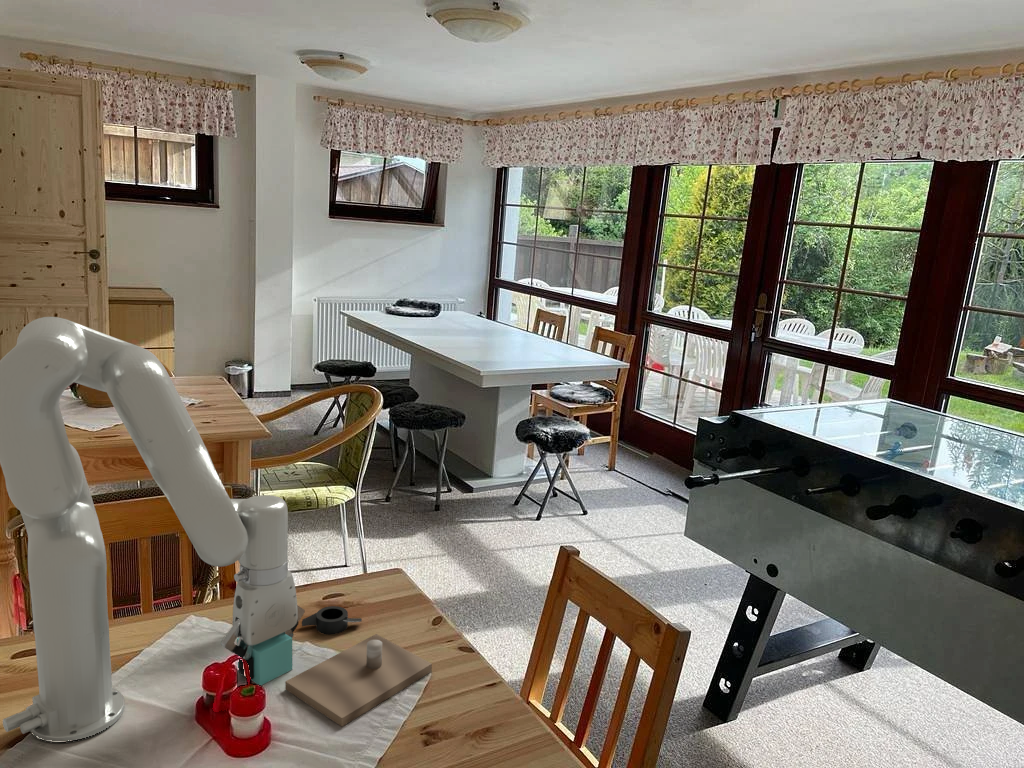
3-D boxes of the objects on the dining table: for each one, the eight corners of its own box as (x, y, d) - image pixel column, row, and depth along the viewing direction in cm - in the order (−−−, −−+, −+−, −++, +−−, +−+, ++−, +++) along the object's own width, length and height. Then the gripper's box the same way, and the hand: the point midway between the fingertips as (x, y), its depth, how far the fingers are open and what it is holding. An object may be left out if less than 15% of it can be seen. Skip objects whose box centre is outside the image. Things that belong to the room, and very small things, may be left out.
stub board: (341, 726, 119) (342, 695, 118) (285, 689, 127) (285, 659, 126) (431, 671, 135) (432, 642, 134) (376, 641, 143) (376, 614, 142)
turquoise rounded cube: (260, 685, 128) (259, 653, 127) (237, 670, 132) (236, 638, 130) (292, 669, 133) (292, 637, 132) (269, 655, 137) (269, 624, 135)
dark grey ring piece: (322, 612, 153) (322, 598, 152) (365, 625, 149) (365, 611, 148) (297, 630, 146) (297, 616, 145) (342, 644, 142) (342, 630, 141)
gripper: (230, 596, 119) (232, 699, 123) (320, 560, 133) (320, 655, 137) (203, 580, 124) (206, 680, 128) (293, 547, 137) (293, 639, 141)
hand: (265, 666), depth 132 cm, fingers closed on turquoise rounded cube, 6 cm apart
